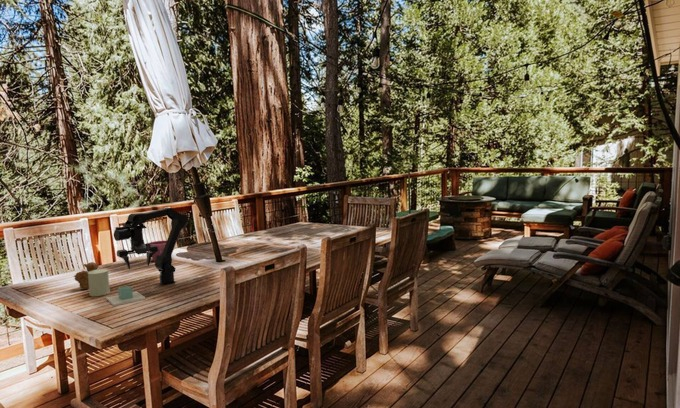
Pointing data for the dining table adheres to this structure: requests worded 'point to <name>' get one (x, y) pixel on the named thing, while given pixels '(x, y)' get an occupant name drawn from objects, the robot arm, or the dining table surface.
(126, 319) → the dining table surface
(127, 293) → the cube
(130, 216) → the robot arm
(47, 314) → the dining table surface
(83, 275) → the stuffed squirrel
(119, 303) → the plate
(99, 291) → the can
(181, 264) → the dining table surface
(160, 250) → the plant pot
